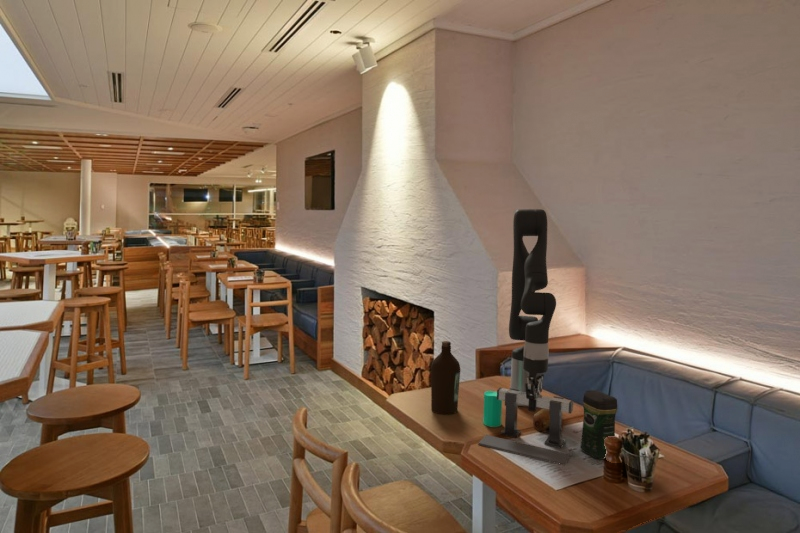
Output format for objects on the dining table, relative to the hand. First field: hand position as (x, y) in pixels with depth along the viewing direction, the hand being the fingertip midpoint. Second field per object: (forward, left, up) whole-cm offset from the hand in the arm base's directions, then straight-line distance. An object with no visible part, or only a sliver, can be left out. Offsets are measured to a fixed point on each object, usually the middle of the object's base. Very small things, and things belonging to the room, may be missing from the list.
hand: (533, 408), depth 165 cm
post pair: (0, 0, -10) cm, 10 cm away
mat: (+10, 0, -10) cm, 14 cm away
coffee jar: (0, +20, -10) cm, 22 cm away
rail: (0, 0, +1) cm, 1 cm away
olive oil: (-8, -34, -10) cm, 36 cm away
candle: (-5, -15, -10) cm, 19 cm away
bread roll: (-12, +2, -10) cm, 16 cm away
